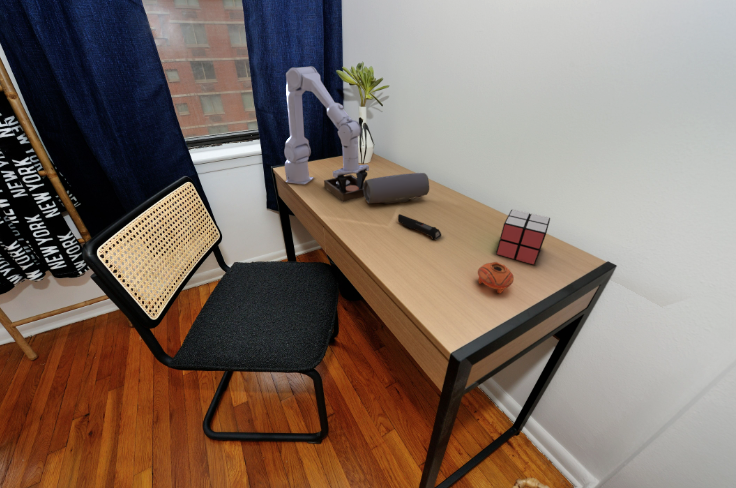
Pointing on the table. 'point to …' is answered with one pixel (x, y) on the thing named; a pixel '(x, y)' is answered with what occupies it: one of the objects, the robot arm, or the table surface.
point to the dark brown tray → (332, 187)
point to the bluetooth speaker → (396, 188)
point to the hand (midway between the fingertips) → (351, 191)
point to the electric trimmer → (420, 226)
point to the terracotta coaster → (351, 188)
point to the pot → (495, 276)
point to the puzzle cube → (523, 236)
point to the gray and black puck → (339, 185)
